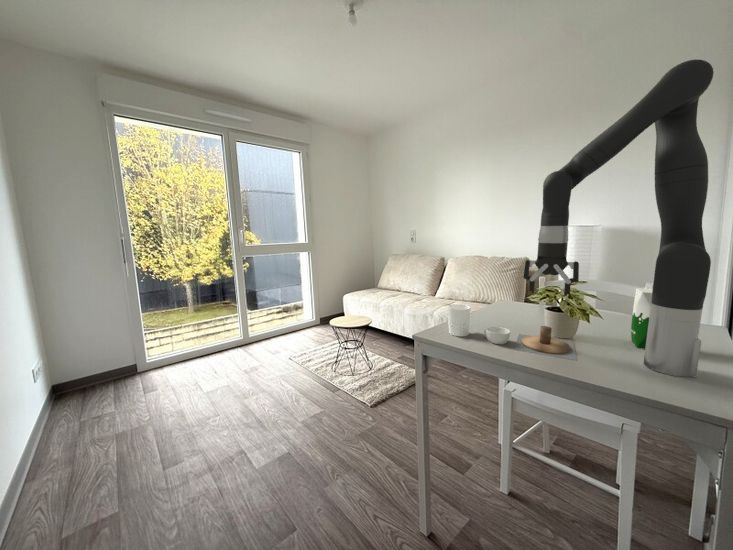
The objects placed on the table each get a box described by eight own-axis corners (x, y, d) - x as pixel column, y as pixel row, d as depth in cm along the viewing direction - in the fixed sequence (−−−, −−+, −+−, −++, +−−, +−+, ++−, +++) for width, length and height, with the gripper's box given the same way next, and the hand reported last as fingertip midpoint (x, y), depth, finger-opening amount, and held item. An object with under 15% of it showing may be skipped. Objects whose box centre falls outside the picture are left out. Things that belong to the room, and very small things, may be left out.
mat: (573, 343, 97) (573, 342, 97) (577, 362, 84) (577, 360, 84) (518, 335, 106) (518, 333, 106) (513, 351, 92) (513, 349, 92)
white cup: (444, 335, 107) (445, 308, 106) (449, 328, 114) (450, 303, 113) (467, 338, 103) (468, 310, 102) (471, 331, 110) (472, 305, 109)
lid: (568, 342, 97) (570, 325, 96) (570, 357, 86) (572, 337, 85) (523, 335, 103) (524, 319, 103) (519, 348, 93) (521, 330, 92)
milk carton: (673, 354, 89) (682, 287, 86) (633, 348, 93) (640, 285, 90) (663, 344, 96) (671, 283, 93) (626, 339, 101) (633, 280, 98)
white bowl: (520, 345, 97) (521, 331, 97) (500, 351, 92) (501, 337, 92) (493, 336, 106) (494, 323, 105) (474, 341, 101) (474, 328, 100)
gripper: (580, 241, 89) (575, 294, 92) (526, 240, 97) (523, 290, 99) (583, 242, 83) (577, 299, 85) (525, 241, 90) (521, 294, 93)
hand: (548, 294), depth 92 cm, fingers open, 8 cm apart
